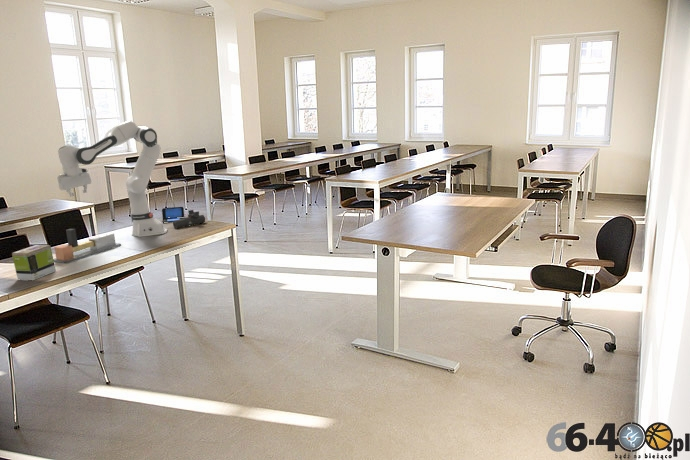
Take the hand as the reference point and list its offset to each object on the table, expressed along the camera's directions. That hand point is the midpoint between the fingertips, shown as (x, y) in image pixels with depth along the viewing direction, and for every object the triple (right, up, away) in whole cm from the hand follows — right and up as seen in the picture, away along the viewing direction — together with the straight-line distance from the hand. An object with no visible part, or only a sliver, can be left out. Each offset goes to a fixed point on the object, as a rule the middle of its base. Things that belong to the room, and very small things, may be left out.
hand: (78, 194), depth 321 cm
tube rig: (+11, -35, -12) cm, 39 cm away
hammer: (+10, -33, -16) cm, 38 cm away
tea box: (+4, -46, -51) cm, 69 cm away
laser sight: (+54, -19, +49) cm, 75 cm away
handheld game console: (+36, -15, +68) cm, 79 cm away
